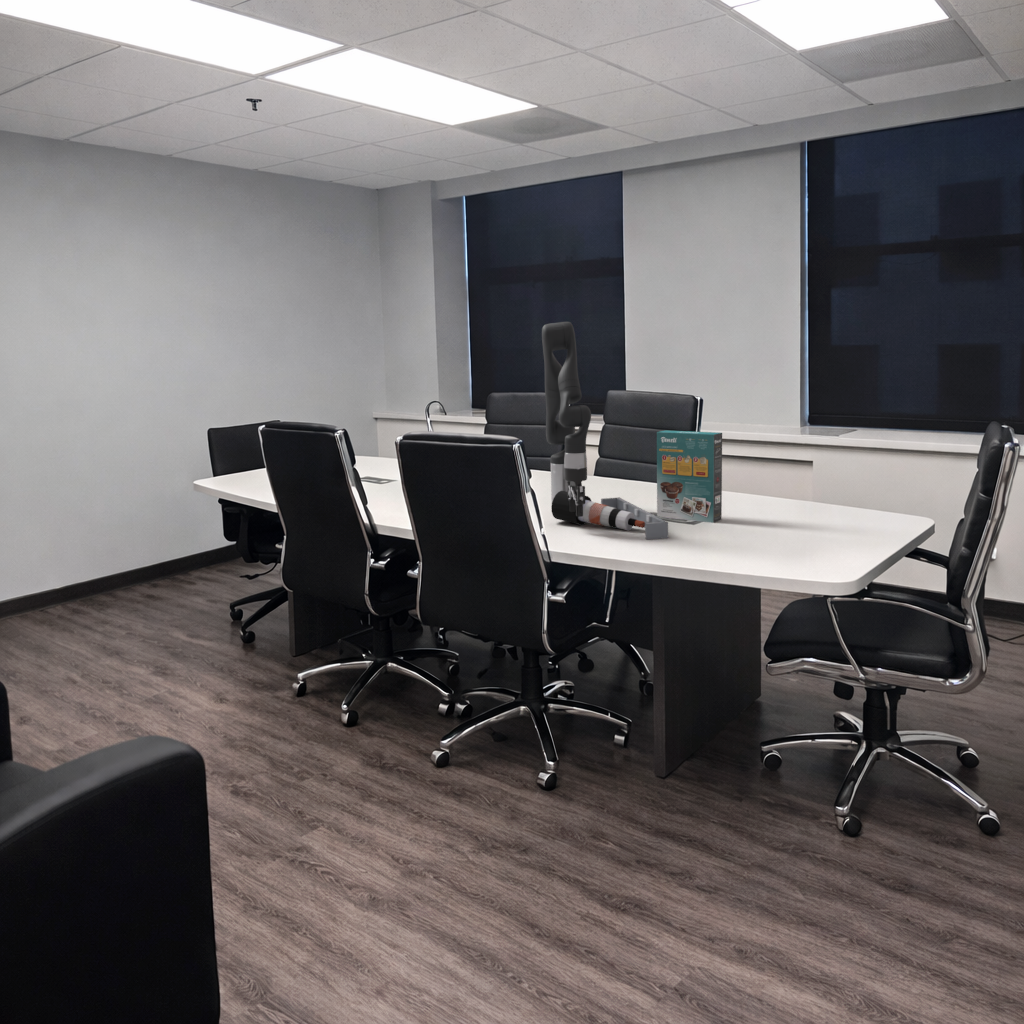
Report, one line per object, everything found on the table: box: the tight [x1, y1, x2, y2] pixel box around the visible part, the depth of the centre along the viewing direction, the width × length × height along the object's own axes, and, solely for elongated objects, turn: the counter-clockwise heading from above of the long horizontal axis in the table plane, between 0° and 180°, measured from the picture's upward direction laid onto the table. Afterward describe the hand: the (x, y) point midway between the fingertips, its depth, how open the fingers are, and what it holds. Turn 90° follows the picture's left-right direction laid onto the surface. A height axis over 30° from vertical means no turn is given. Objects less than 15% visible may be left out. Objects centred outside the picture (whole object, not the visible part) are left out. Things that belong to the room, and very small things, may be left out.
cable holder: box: [600, 497, 669, 540], centre depth 315 cm, size 50×7×5 cm, turn 11°
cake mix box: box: [656, 430, 723, 523], centre depth 319 cm, size 22×6×30 cm, turn 51°
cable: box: [551, 491, 645, 531], centre depth 312 cm, size 10×34×10 cm, turn 50°
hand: (576, 514), depth 308 cm, fingers open, 8 cm apart
